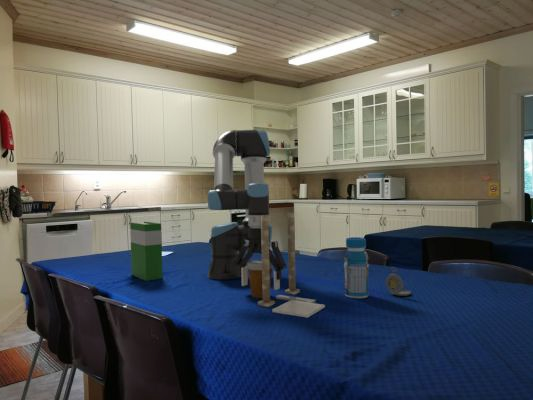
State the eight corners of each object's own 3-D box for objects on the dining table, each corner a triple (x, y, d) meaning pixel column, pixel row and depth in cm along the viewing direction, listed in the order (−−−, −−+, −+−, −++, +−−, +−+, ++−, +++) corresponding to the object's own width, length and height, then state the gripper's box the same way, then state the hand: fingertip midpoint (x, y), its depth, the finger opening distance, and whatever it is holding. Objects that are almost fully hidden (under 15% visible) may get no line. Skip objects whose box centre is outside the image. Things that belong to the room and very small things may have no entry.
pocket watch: (410, 292, 145) (410, 264, 145) (410, 298, 138) (410, 268, 137) (386, 291, 148) (386, 263, 148) (385, 297, 140) (384, 267, 140)
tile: (272, 311, 126) (272, 309, 126) (291, 302, 136) (291, 300, 136) (307, 317, 119) (307, 314, 119) (324, 307, 129) (324, 304, 129)
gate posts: (258, 305, 133) (255, 215, 133) (290, 290, 152) (288, 212, 151) (268, 306, 131) (266, 216, 131) (299, 292, 150) (298, 212, 149)
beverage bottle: (355, 300, 137) (354, 240, 136) (339, 294, 144) (338, 238, 144) (374, 296, 141) (373, 238, 140) (358, 291, 148) (357, 236, 148)
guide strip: (273, 299, 139) (273, 297, 139) (279, 297, 143) (279, 294, 143) (310, 305, 132) (310, 302, 132) (315, 302, 135) (315, 299, 135)
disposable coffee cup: (271, 299, 140) (270, 264, 140) (244, 298, 142) (243, 264, 142) (276, 292, 149) (275, 259, 149) (250, 291, 151) (249, 259, 151)
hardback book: (131, 274, 189) (130, 222, 188) (147, 272, 193) (145, 221, 193) (146, 280, 175) (144, 224, 174) (162, 278, 179) (161, 223, 179)
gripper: (224, 227, 149) (225, 285, 149) (284, 228, 135) (285, 293, 136) (236, 225, 155) (238, 281, 155) (295, 226, 142) (296, 288, 142)
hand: (260, 287), depth 146 cm, fingers open, 13 cm apart
